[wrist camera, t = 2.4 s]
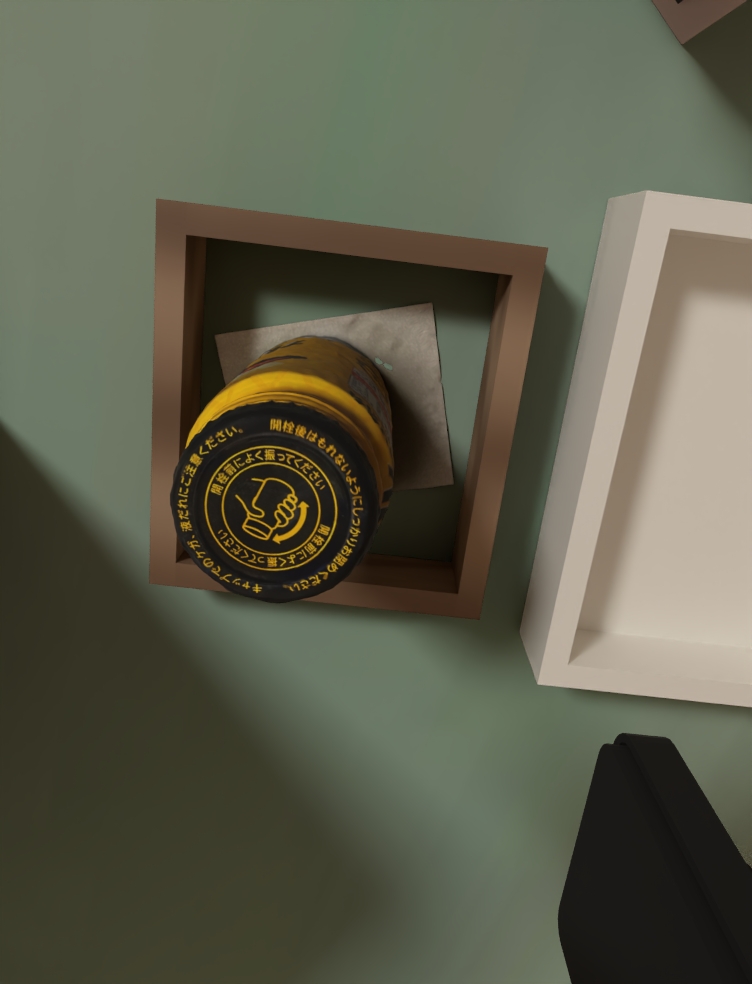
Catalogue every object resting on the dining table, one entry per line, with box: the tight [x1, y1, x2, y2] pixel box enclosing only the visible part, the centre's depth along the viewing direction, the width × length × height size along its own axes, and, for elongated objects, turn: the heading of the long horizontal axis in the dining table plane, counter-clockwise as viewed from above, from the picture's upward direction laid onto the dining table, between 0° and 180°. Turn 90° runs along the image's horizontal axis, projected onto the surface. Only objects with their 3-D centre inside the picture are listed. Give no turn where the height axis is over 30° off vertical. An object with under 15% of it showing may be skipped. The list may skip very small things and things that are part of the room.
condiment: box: [170, 303, 454, 603], centre depth 23 cm, size 7×8×12 cm
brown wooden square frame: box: [149, 199, 548, 620], centre depth 27 cm, size 14×13×3 cm
